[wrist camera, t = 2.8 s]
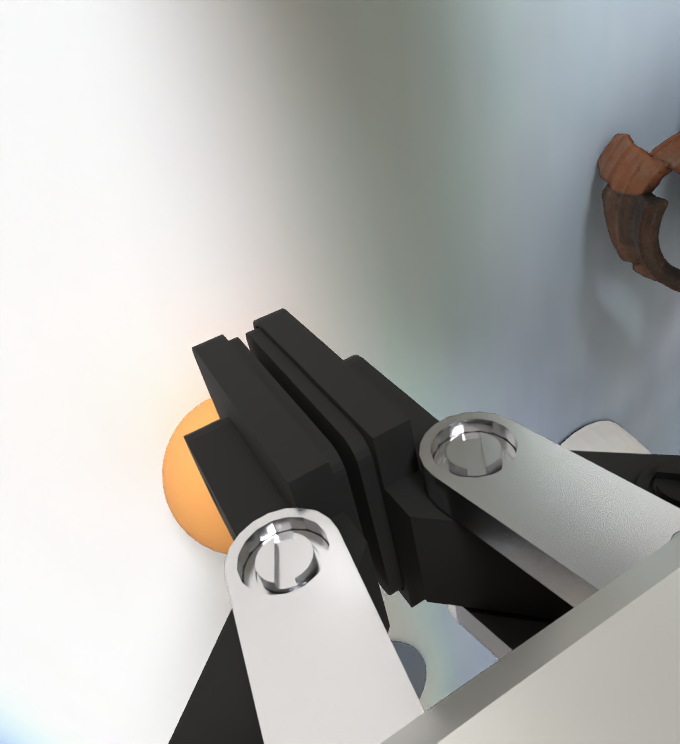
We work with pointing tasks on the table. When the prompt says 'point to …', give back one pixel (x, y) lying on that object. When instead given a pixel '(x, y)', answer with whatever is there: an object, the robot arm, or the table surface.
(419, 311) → the table surface
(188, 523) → the ball
